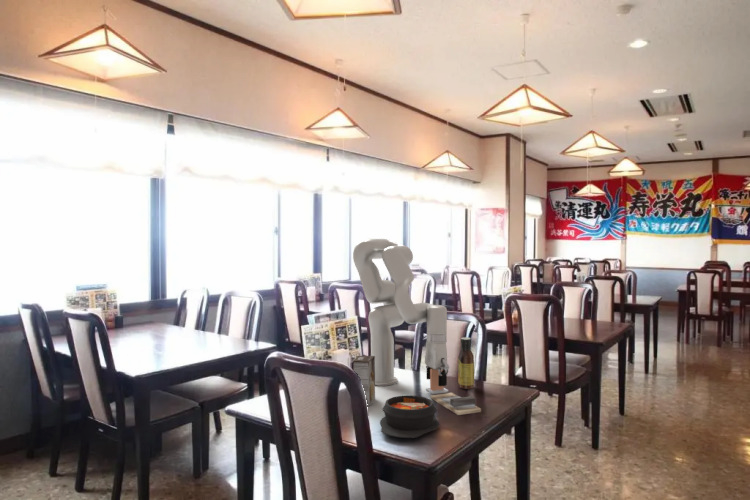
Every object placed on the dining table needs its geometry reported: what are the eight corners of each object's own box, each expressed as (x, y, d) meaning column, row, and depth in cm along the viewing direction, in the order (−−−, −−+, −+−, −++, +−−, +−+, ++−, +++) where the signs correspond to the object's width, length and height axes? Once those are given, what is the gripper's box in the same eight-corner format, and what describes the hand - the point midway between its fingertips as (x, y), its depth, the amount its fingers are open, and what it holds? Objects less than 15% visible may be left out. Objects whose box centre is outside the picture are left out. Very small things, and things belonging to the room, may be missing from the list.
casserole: (393, 412, 175) (393, 388, 174) (447, 419, 168) (447, 393, 168) (367, 439, 151) (367, 411, 151) (428, 448, 145) (428, 418, 144)
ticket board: (430, 398, 190) (430, 387, 190) (451, 395, 193) (451, 385, 193) (458, 415, 172) (458, 403, 171) (481, 411, 175) (481, 400, 175)
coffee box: (358, 397, 191) (358, 354, 191) (375, 398, 190) (375, 355, 190) (352, 405, 182) (352, 360, 182) (370, 406, 181) (370, 361, 181)
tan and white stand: (425, 390, 196) (425, 367, 196) (441, 388, 199) (441, 366, 198) (431, 394, 191) (431, 370, 191) (448, 392, 194) (448, 369, 194)
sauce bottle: (462, 384, 208) (462, 335, 208) (476, 386, 205) (476, 337, 204) (455, 388, 203) (455, 338, 203) (469, 390, 199) (469, 340, 199)
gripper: (417, 334, 201) (417, 377, 202) (438, 342, 185) (438, 389, 186) (434, 333, 204) (434, 375, 205) (456, 341, 188) (456, 387, 188)
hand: (436, 382), depth 195 cm, fingers open, 9 cm apart
